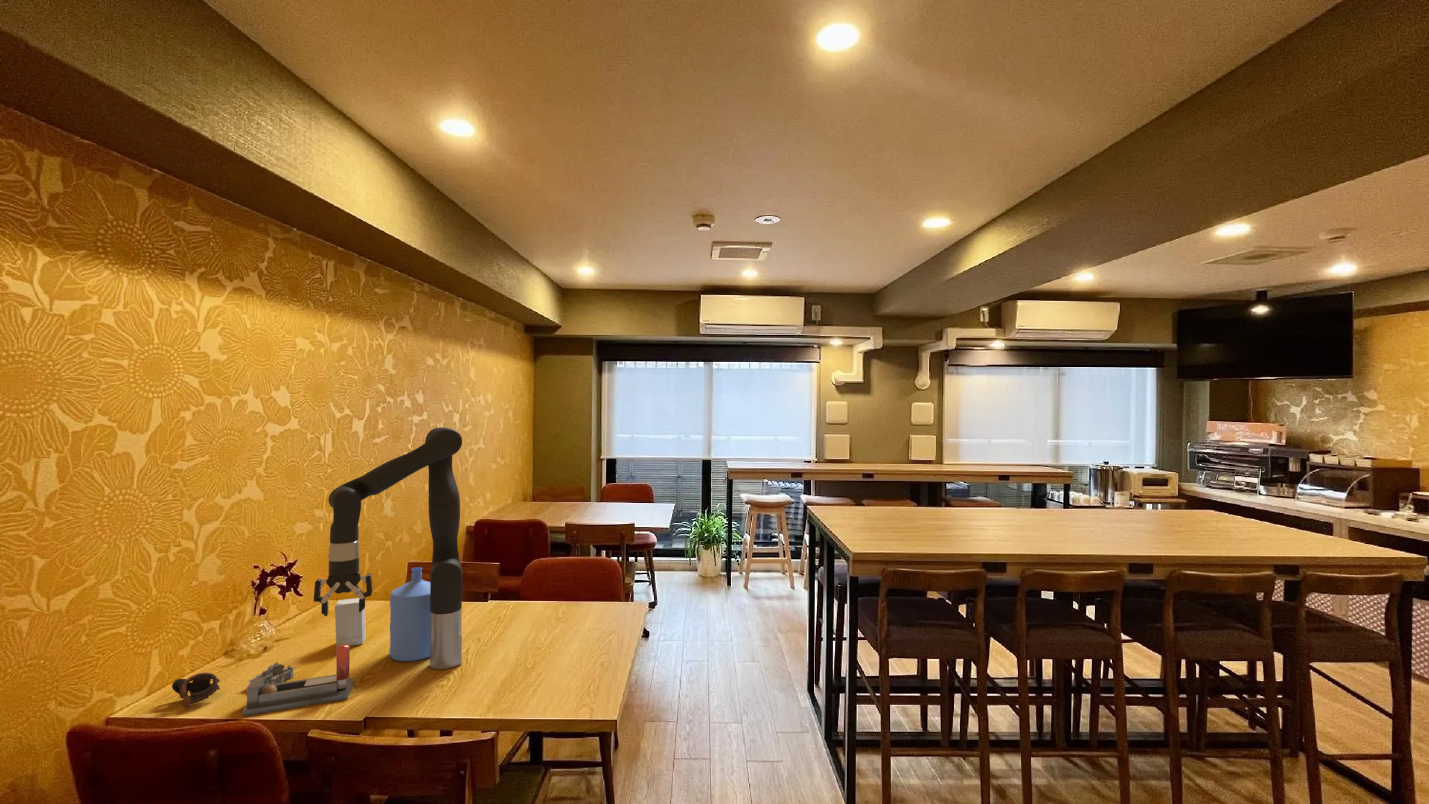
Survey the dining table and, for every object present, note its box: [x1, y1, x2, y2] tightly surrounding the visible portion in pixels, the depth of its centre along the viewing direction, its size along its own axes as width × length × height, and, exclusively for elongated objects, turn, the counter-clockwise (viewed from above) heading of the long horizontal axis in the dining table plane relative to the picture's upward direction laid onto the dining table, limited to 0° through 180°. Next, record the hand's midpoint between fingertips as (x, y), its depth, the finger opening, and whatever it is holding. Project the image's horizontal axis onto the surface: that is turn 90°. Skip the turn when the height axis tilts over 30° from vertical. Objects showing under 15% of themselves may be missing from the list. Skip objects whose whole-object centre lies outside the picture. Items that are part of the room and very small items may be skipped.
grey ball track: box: [242, 674, 355, 717], centre depth 169 cm, size 24×11×6 cm, turn 114°
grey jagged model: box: [248, 661, 297, 687], centre depth 179 cm, size 11×8×4 cm
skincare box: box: [334, 597, 367, 648], centre depth 208 cm, size 8×6×15 cm
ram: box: [304, 644, 351, 689], centre depth 172 cm, size 11×4×11 cm, turn 114°
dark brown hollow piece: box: [171, 672, 221, 709], centre depth 168 cm, size 12×10×8 cm
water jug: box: [389, 566, 430, 663], centre depth 201 cm, size 16×16×28 cm
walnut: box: [261, 685, 277, 694], centre depth 166 cm, size 4×4×4 cm
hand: (343, 613), depth 173 cm, fingers open, 8 cm apart
